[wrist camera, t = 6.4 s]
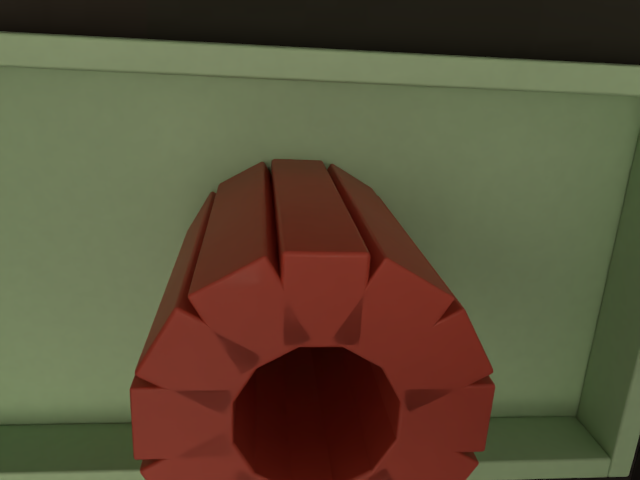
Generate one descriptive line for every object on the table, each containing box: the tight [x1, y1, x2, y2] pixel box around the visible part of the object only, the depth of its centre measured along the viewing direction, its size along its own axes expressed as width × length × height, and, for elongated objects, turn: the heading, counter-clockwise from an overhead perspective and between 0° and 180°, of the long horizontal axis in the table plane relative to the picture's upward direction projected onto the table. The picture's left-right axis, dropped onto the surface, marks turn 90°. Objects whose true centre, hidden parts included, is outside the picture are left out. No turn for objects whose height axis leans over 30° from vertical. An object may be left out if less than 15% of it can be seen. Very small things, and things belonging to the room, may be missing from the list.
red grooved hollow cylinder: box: [129, 159, 495, 480], centre depth 15 cm, size 7×7×8 cm
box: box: [0, 31, 640, 480], centre depth 18 cm, size 24×14×3 cm, turn 87°
